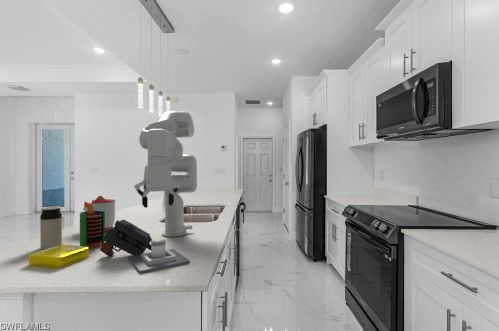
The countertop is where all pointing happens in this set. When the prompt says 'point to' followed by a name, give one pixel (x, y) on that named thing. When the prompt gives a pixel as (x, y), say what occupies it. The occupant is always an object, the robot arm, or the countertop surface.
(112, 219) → the citrus juicer
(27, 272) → the countertop surface
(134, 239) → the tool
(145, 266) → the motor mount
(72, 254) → the element tile
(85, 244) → the motor
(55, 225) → the travel mug
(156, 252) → the white domed cylinder
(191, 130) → the robot arm
